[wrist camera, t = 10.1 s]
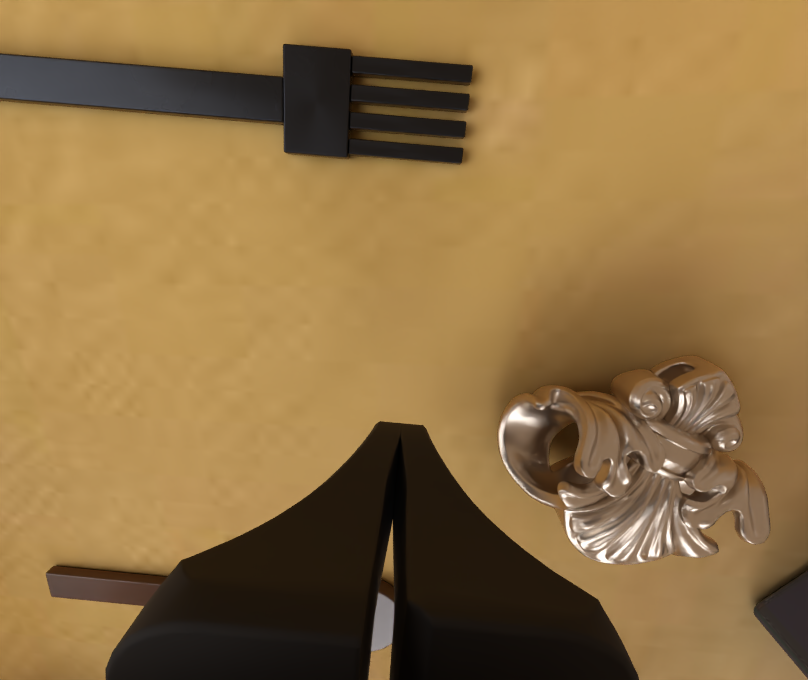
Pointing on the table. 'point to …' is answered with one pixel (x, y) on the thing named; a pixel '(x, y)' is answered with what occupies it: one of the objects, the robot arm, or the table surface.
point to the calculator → (788, 619)
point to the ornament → (639, 462)
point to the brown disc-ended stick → (144, 586)
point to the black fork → (263, 97)
